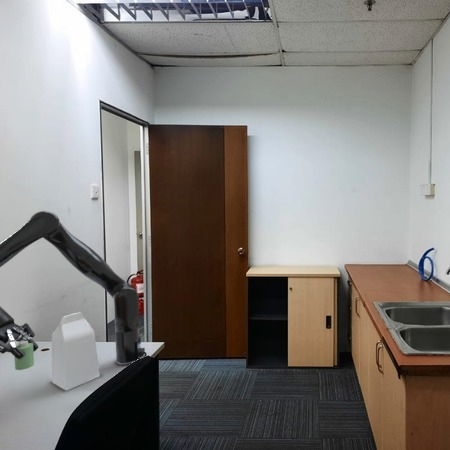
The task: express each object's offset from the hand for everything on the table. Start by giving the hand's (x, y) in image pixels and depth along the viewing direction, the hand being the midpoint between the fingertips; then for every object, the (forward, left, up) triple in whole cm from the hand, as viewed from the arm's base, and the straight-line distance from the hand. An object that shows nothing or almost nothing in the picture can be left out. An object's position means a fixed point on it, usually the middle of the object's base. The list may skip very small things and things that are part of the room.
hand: (29, 353), depth 114 cm
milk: (-8, -15, -18) cm, 25 cm away
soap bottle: (+2, 0, -5) cm, 5 cm away
